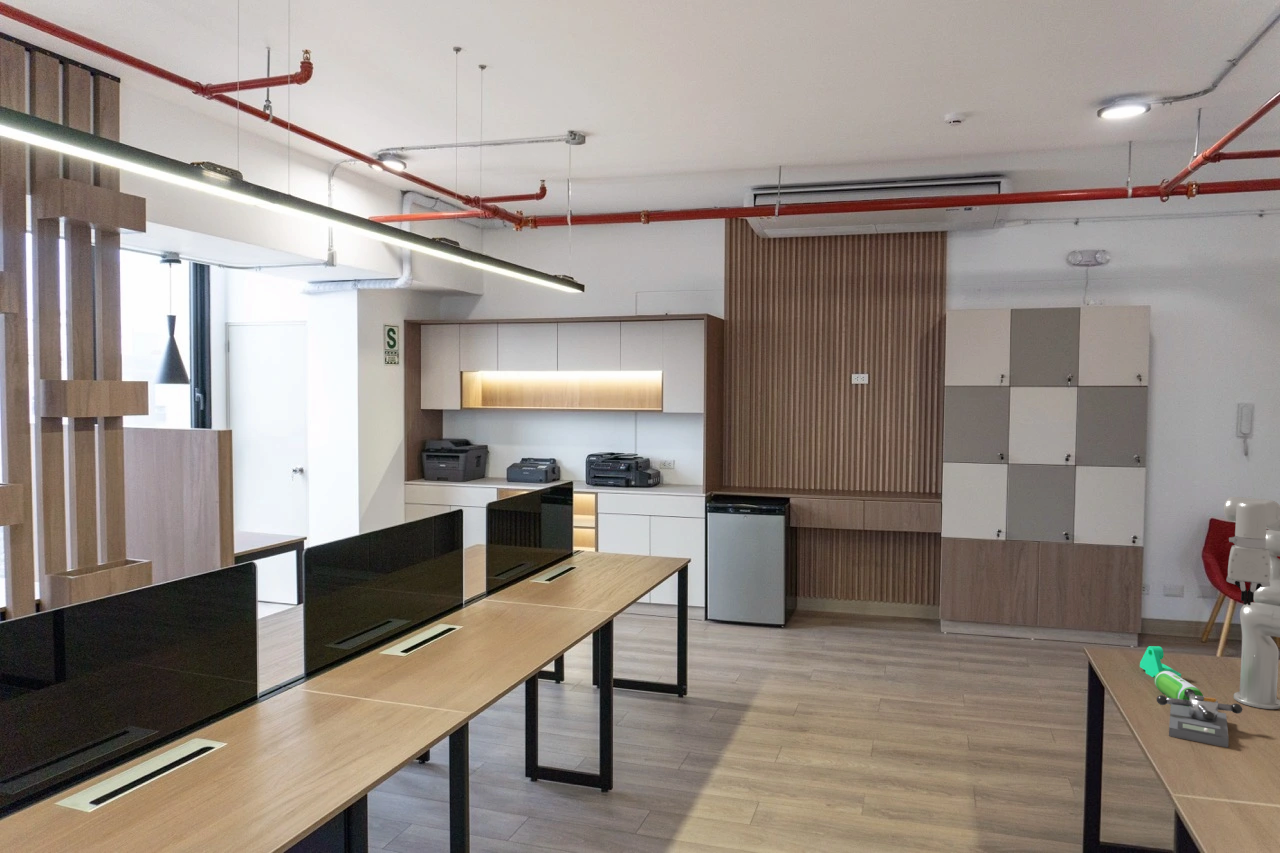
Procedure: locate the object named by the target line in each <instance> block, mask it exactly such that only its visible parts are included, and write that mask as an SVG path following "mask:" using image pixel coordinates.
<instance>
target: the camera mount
mask: <svg viewBox="0 0 1280 853" xmlns="http://www.w3.org/2000/svg"><path fill="white" fill-rule="evenodd" d="M1164 654H1165V653H1164V650H1163V648H1162V646H1159V645H1157V646H1155V645H1153V646H1152V645H1151V646H1149V645H1148V647H1147V648H1146V650H1145V651H1144V654H1143V655H1142V658H1141V659H1140V662H1139V668H1141V669H1143V670H1144V671H1145V674H1146V675H1148V676H1150V677H1152V678H1153V677H1154V678H1155V676H1156V674H1157V673H1159V672H1161V671H1170V672H1173V673H1175V674H1176V675H1178V676H1179V677H1181V678H1182V673H1180V672H1178V671H1177V670H1175V669H1173V668H1171V667H1170V666H1168V665H1166V664H1164V663H1162V660H1163V659H1164V657H1165V655H1164ZM1154 678H1153V679H1154Z"/></svg>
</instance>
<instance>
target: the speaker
mask: <svg viewBox="0 0 1280 853" xmlns="http://www.w3.org/2000/svg"><path fill="white" fill-rule="evenodd" d="M1153 680H1154V681H1153V682H1154V685H1155V686H1156V689H1157V690H1159V692H1160V693H1161V694H1163V696H1165V695H1166V696H1167V697H1166V696H1165V697H1166V698H1175V699H1184V700H1189V701H1190V698H1188V697H1186V696H1185V694H1184V691H1185V690H1186V689H1192V690H1193V691H1194V692H1195V695H1199V696H1204V694H1203V692H1201V690H1200V689H1199V688H1198V687H1197V686H1195V685H1193V684H1192V683H1190V682H1189V681H1187V680H1185V679H1184V678H1183V677H1182V676H1181V677H1179V676H1178V675H1176V674H1175V673H1173V672H1170V671H1161V672H1159V673H1157V674H1156V676H1155V678H1153ZM1187 707H1189V706H1187Z"/></svg>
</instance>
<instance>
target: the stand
mask: <svg viewBox="0 0 1280 853" xmlns="http://www.w3.org/2000/svg"><path fill="white" fill-rule="evenodd" d="M1227 720H1228V719H1227V713H1225V712H1219V711H1218V715H1217V720H1216V721H1203V720H1199V719H1196V718H1193V717H1191V716H1190V715H1189V707H1187V706H1181V705H1172V704H1170V712H1169V723H1168V725H1169V727H1168V737H1171V738H1177V739H1182V740H1187V741H1193V742H1198V743H1203V744H1208V745H1212V746H1216V747H1222V748H1229V730H1228V721H1227Z"/></svg>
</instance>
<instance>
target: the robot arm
mask: <svg viewBox="0 0 1280 853" xmlns="http://www.w3.org/2000/svg"><path fill="white" fill-rule="evenodd" d="M1223 515H1224V516H1225V519H1226V520H1227V521H1230V522H1232V523H1235V530H1234V536H1232V537H1228V541H1229V543H1233V544H1234V545H1231V548H1230V551H1229V556H1228V565H1227V576H1226V582H1227V583H1229V584H1233V585H1236V586H1237V587H1238V588H1239V589H1240V590H1241V591H1240V592H1241V593H1240V594H1241V596H1240V601H1241V602H1243V605H1242V606H1241V608H1240V611H1239V619H1240V628H1241V654H1240V656H1241V658H1240V659H1241V661H1240V675H1239V676H1240V678H1239V679H1240V681H1239V691H1237V692H1234V693H1233V699H1234V700H1235V701H1236V702H1239V703H1241V704H1242V705H1245V706H1250V707H1253V708H1257V709H1264V710H1279V709H1280V699H1278V698H1277V696H1278V695H1277V693H1278V678H1279V661H1280V660H1279V658H1280V657H1279V656H1280V651H1279V650H1280V649H1279V647H1278V645H1277V644H1276V642H1275V641H1274V639H1273V638H1272V637H1276V638H1280V558H1278V557H1280V504H1279V503H1278V502H1277V501H1275V500H1271V499H1265V498H1264V499H1263V498H1254V497H1253V498H1252V497H1242V496H1241V497H1240V496H1230V497H1228V498H1227V499H1226V500H1225V502H1224V505H1223ZM1245 582H1247V583H1250V586H1249V587H1248V590H1247V588H1246V583H1245Z"/></svg>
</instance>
